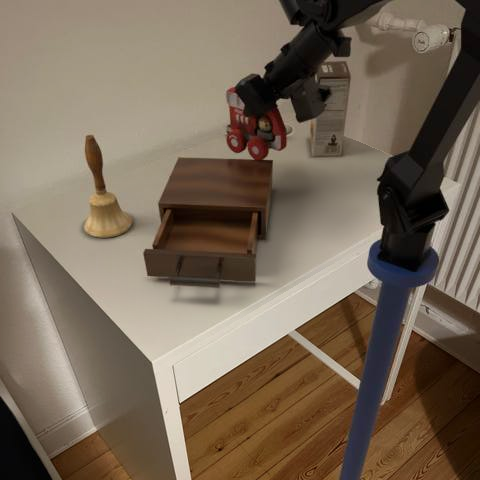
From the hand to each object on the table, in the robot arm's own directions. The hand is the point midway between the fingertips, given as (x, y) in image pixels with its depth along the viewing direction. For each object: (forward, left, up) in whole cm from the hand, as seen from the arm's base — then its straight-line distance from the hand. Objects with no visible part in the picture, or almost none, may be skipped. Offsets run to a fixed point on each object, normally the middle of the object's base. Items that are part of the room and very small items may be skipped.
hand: (248, 112), depth 90 cm
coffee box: (-5, -21, -13) cm, 25 cm away
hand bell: (+11, +27, -13) cm, 32 cm away
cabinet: (-2, +12, -13) cm, 18 cm away
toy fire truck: (-2, -1, -7) cm, 7 cm away
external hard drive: (+11, -17, -13) cm, 24 cm away
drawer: (-10, +26, -12) cm, 30 cm away
